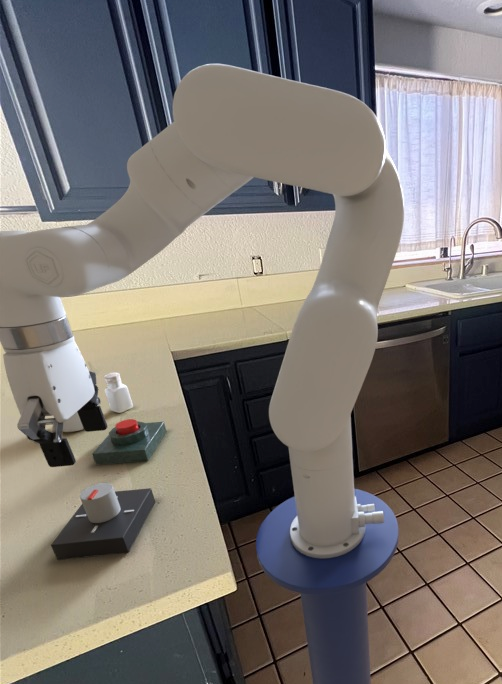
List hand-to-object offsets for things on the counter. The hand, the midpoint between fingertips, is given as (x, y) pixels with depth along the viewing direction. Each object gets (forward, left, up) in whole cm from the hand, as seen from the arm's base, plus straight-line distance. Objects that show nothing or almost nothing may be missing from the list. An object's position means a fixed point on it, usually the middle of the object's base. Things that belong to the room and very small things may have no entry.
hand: (81, 446), depth 63 cm
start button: (+6, -26, -12) cm, 29 cm away
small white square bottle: (+16, -46, -16) cm, 51 cm away
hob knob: (0, 0, -13) cm, 13 cm away
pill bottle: (+23, -39, -16) cm, 48 cm away
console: (+6, -26, -16) cm, 31 cm away
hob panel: (0, 0, -16) cm, 16 cm away
